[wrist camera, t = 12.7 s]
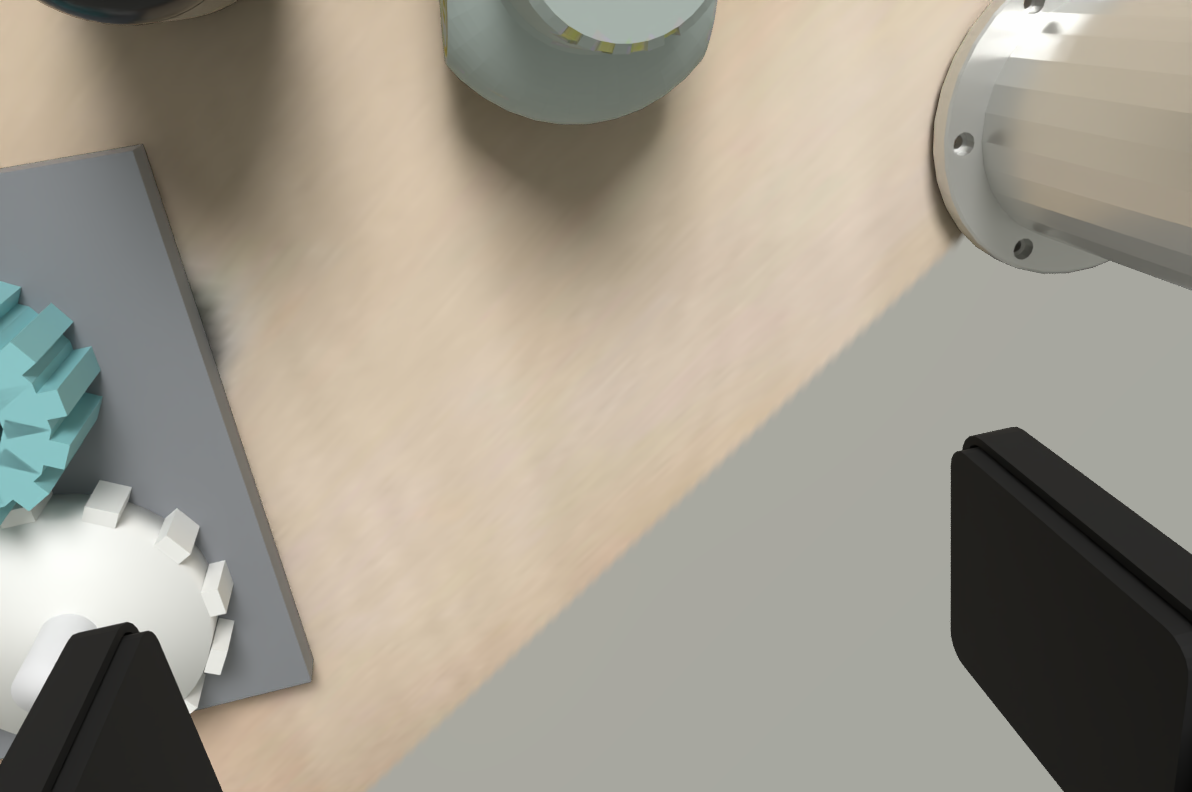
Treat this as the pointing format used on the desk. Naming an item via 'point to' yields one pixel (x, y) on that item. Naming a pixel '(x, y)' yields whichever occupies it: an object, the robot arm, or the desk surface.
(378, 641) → the desk surface
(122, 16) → the supplement bottle
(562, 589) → the desk surface
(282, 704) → the desk surface
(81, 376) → the gear
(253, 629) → the gear board
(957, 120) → the robot arm
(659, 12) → the air freshener
